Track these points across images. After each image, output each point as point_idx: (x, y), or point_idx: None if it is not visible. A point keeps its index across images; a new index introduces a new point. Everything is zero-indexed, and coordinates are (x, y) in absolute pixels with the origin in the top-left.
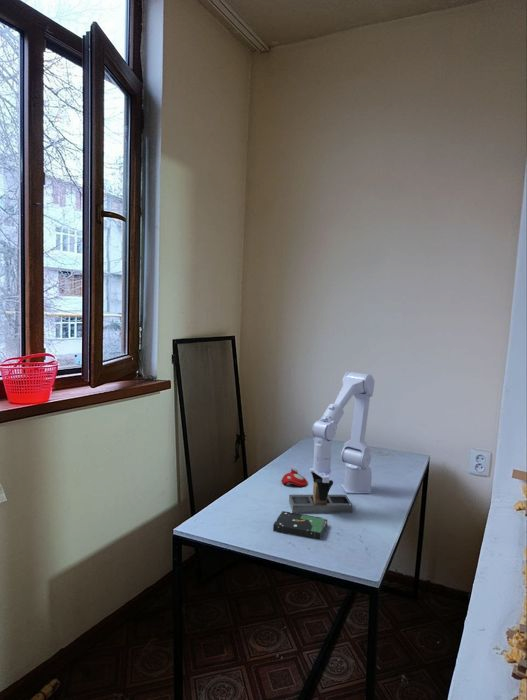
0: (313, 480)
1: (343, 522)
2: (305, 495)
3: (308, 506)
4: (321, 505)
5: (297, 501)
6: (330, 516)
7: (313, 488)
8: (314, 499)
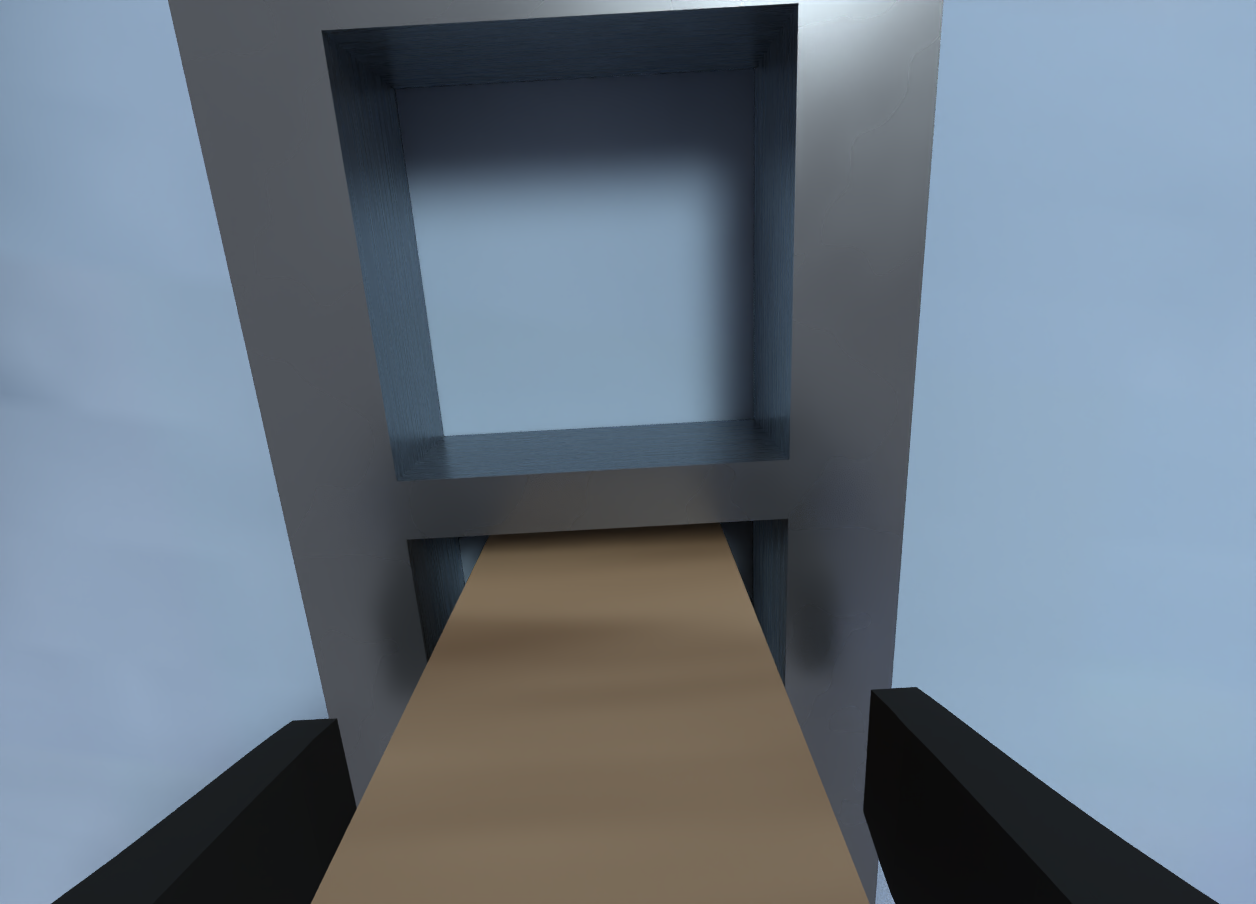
0: (1213, 902)
1: (110, 845)
2: (859, 407)
3: (270, 404)
4: (321, 679)
5: (766, 202)
6: (273, 713)
7: (778, 713)
8: (561, 586)
